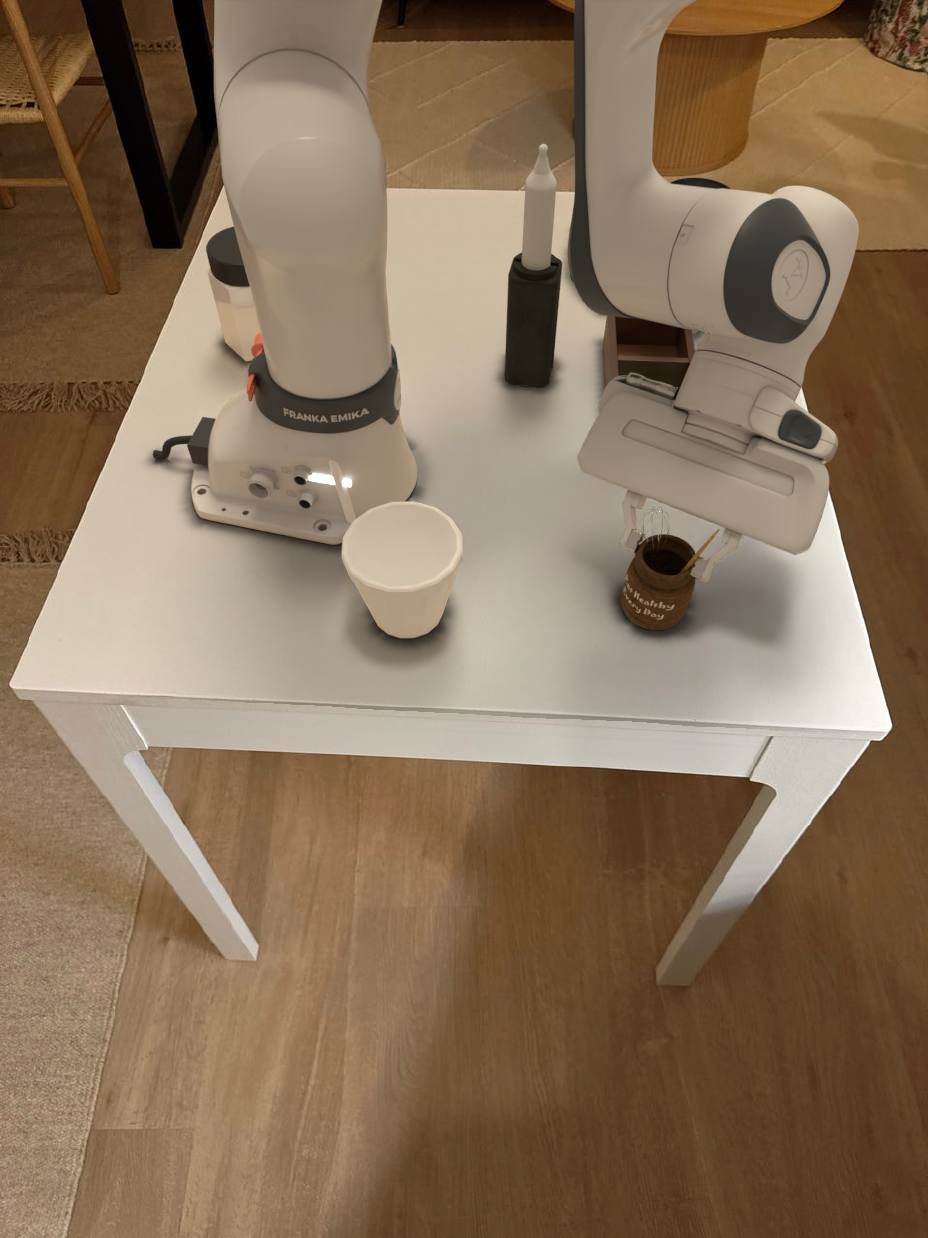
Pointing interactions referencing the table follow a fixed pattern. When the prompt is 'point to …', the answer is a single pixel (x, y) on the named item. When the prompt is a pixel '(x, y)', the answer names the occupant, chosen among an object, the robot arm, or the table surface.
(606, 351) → the wooden divided box
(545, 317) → the candle
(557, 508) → the table surface
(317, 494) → the robot arm
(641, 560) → the utensil holder
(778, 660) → the table surface
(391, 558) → the cup
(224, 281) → the jar
